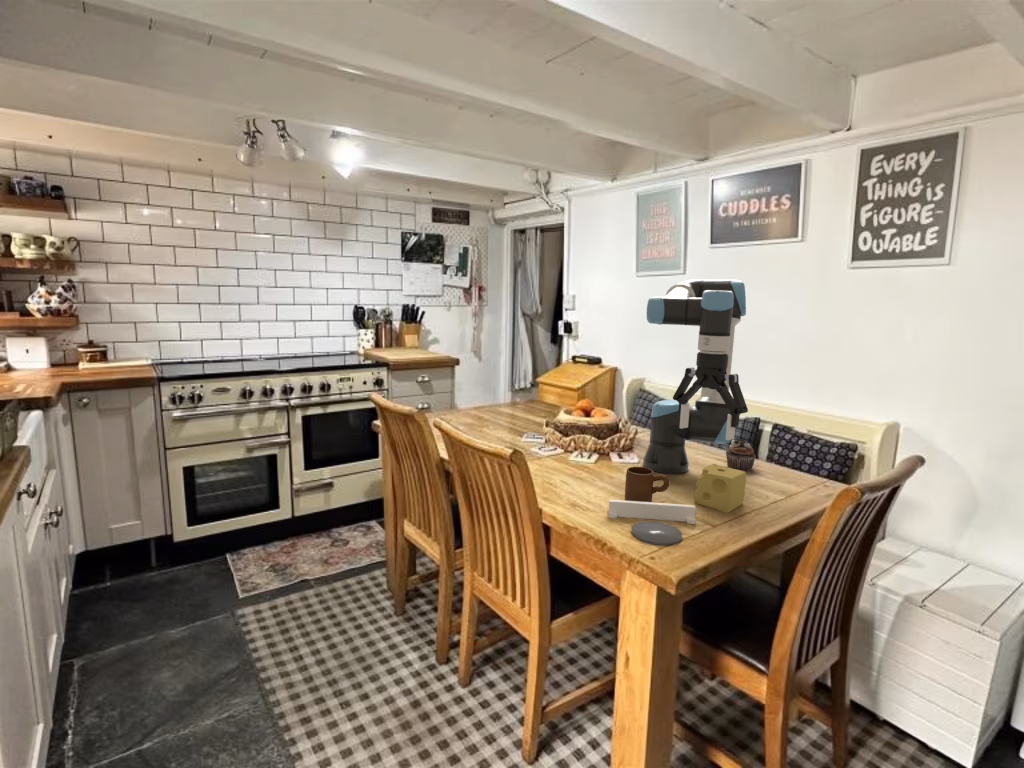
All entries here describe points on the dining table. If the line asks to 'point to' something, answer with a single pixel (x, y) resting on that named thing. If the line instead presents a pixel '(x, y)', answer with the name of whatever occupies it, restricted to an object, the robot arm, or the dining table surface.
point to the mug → (643, 484)
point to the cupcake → (740, 455)
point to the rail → (651, 510)
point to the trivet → (656, 532)
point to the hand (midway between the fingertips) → (705, 433)
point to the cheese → (720, 488)
